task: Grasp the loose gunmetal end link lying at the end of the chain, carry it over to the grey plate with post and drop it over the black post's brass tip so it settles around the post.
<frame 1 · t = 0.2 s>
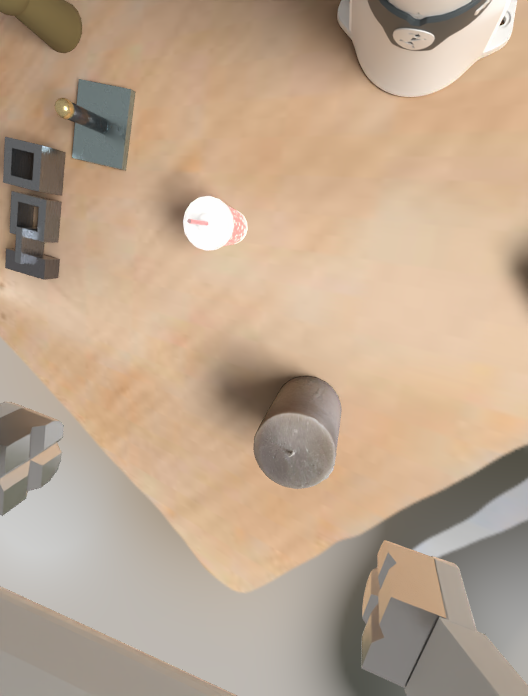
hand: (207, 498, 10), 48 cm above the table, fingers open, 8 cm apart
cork: (63, 28, 56), on the table
end link: (46, 170, 61), on the table
grey plate with post: (105, 126, 57), on the table
beverage cup: (232, 227, 56), on the table
chain tail: (42, 231, 63), on the table
pillar candle: (309, 406, 60), on the table
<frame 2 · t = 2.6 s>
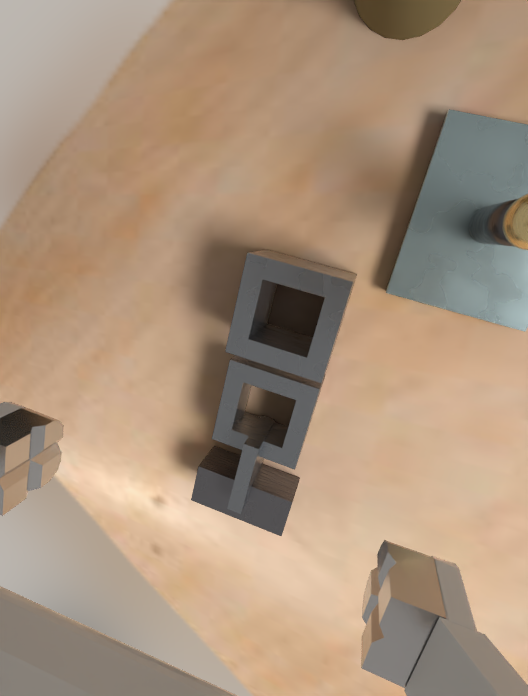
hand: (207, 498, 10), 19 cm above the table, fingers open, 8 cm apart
end link: (299, 306, 27), on the table
grey plate with post: (484, 225, 23), on the table
chain tail: (267, 422, 30), on the table
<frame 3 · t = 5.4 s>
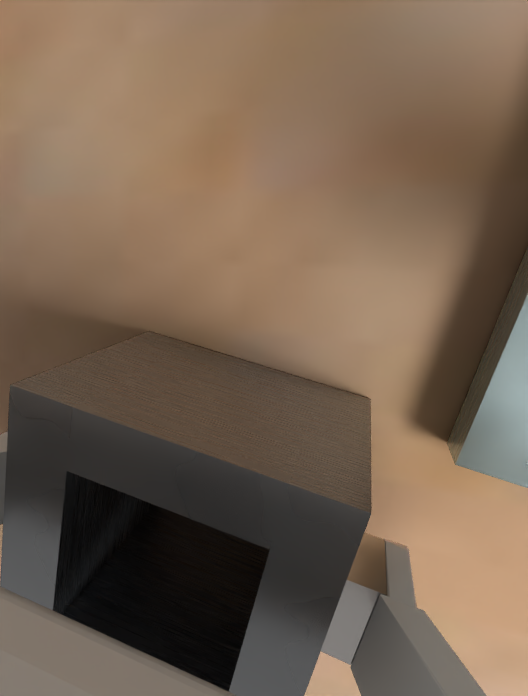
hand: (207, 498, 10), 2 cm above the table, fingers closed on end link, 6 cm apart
end link: (230, 463, 11), on the table, touching gripper
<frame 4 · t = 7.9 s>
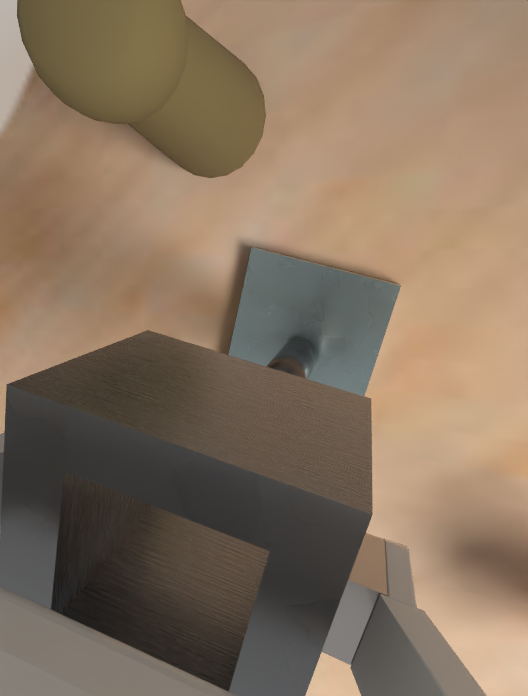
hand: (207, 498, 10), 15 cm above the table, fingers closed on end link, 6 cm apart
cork: (212, 118, 22), on the table
end link: (230, 463, 11), point 13 cm above the table, touching gripper
grey plate with post: (302, 350, 24), on the table
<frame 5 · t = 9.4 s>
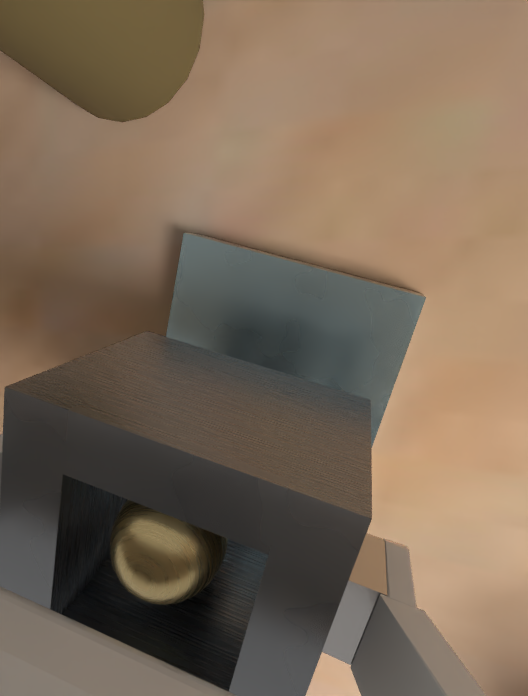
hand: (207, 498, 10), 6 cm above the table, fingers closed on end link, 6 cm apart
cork: (121, 23, 14), on the table
end link: (229, 463, 11), point 5 cm above the table, touching gripper
grey plate with post: (268, 393, 15), on the table
when the fingers open (6 cm above the table, at t = 10.4 s): end link drops 3 cm, resting on grey plate with post.
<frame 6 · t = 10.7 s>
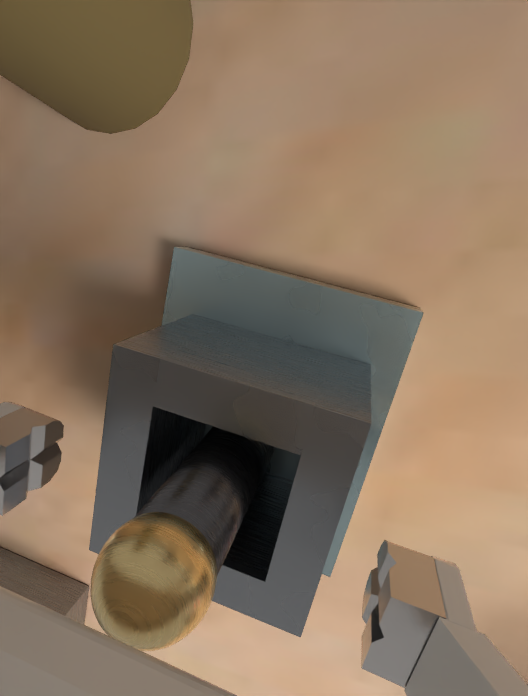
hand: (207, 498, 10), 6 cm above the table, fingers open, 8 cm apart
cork: (109, 33, 13), on the table
end link: (258, 420, 14), point 1 cm above the table, touching grey plate with post
grey plate with post: (263, 409, 15), on the table
chain tail: (29, 637, 21), on the table
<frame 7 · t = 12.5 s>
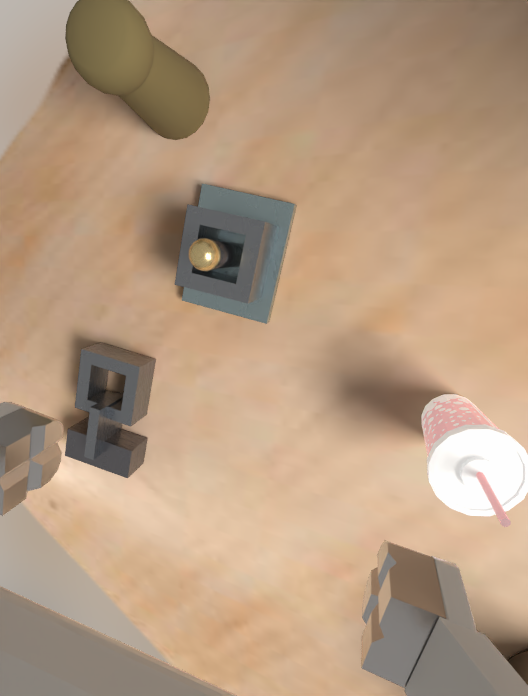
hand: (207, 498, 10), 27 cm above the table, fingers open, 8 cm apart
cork: (176, 101, 34), on the table
end link: (235, 254, 35), point 1 cm above the table, touching grey plate with post
grey plate with post: (238, 254, 36), on the table
beverage cup: (449, 418, 35), on the table
chain tail: (121, 396, 41), on the table
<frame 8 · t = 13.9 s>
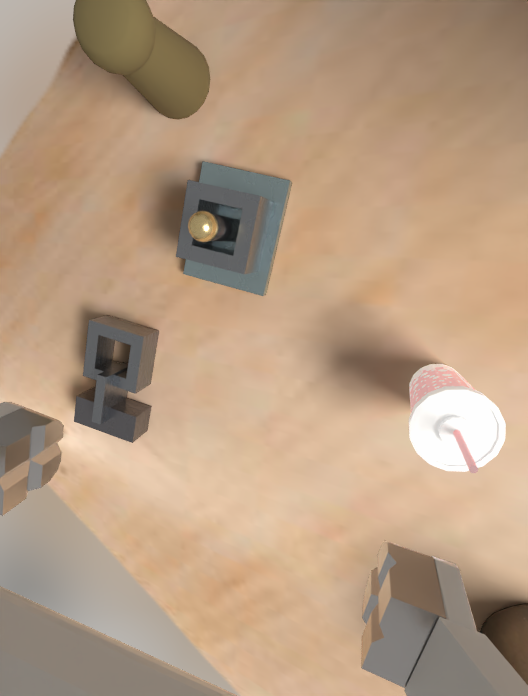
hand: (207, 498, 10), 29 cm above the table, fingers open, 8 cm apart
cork: (178, 81, 36), on the table
end link: (234, 229, 36), point 1 cm above the table, touching grey plate with post
grey plate with post: (237, 230, 37), on the table
beverage cup: (435, 387, 37), on the table
chain tail: (126, 367, 44), on the table
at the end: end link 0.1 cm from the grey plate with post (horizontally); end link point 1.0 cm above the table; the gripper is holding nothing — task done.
